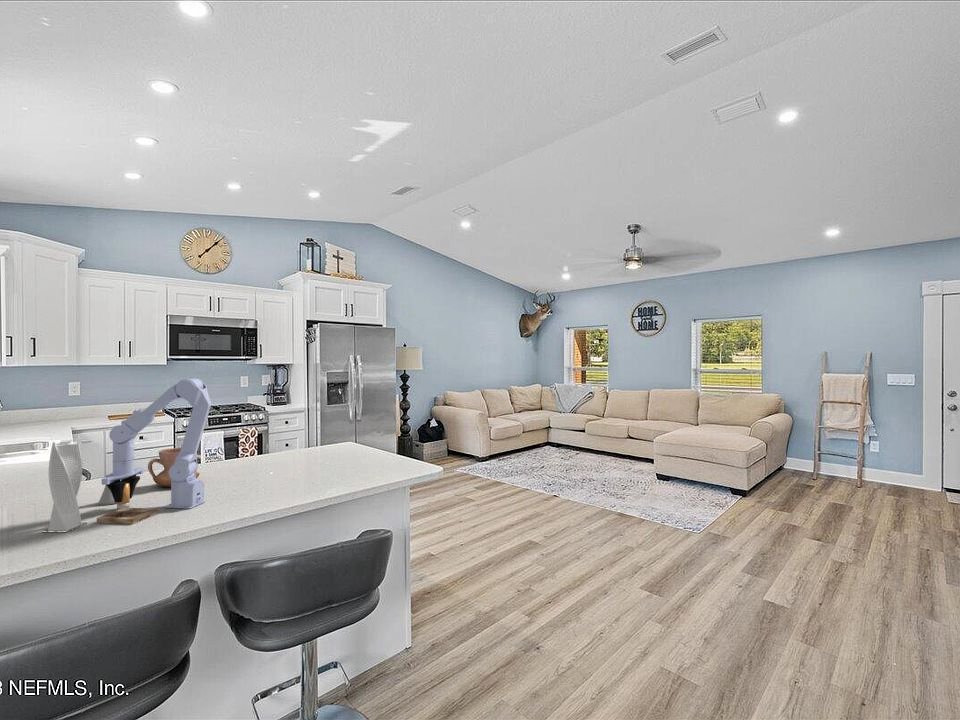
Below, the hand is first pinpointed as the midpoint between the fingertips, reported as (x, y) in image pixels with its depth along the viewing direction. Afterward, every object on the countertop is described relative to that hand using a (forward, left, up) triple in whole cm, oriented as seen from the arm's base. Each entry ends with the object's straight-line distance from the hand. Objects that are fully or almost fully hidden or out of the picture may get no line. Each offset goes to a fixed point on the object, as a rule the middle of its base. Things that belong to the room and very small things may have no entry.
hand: (123, 500), depth 155 cm
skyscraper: (+2, +18, -3) cm, 19 cm away
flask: (+10, -6, -3) cm, 12 cm away
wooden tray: (-9, +8, -3) cm, 12 cm away
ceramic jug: (+4, -29, -3) cm, 29 cm away
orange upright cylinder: (0, 0, -2) cm, 2 cm away
